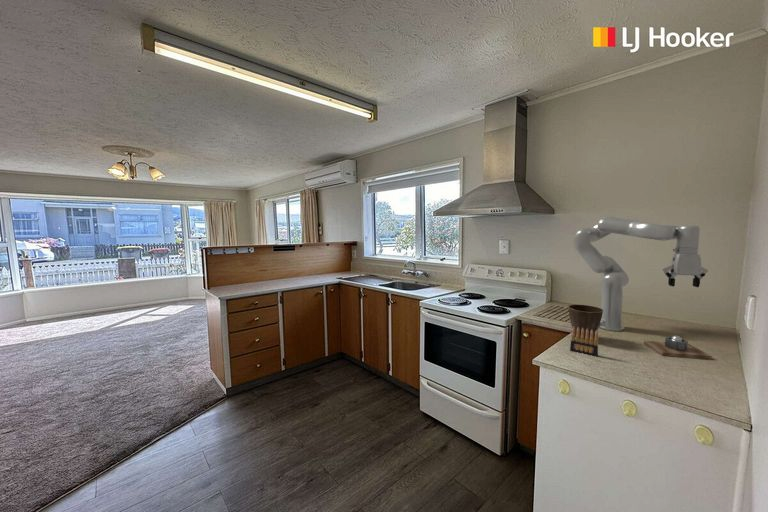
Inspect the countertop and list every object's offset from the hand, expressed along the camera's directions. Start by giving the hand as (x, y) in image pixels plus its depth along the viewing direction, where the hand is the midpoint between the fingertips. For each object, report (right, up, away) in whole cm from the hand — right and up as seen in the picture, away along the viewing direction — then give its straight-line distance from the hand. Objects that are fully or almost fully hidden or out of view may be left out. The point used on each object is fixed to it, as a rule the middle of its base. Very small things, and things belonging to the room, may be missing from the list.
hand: (683, 286), depth 147 cm
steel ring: (-10, -28, -7) cm, 30 cm away
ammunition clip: (-53, -30, -7) cm, 62 cm away
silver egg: (-10, -28, -7) cm, 30 cm away
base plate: (-10, -29, -7) cm, 32 cm away
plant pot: (-42, -28, +10) cm, 51 cm away
